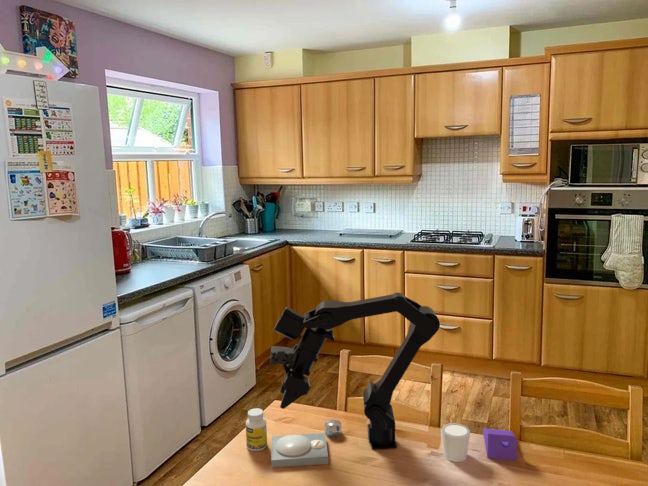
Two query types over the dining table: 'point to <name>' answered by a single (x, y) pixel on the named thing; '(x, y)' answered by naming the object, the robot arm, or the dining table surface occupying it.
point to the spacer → (333, 428)
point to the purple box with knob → (500, 444)
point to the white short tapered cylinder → (455, 442)
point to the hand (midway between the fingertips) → (281, 399)
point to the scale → (299, 450)
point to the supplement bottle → (256, 430)
